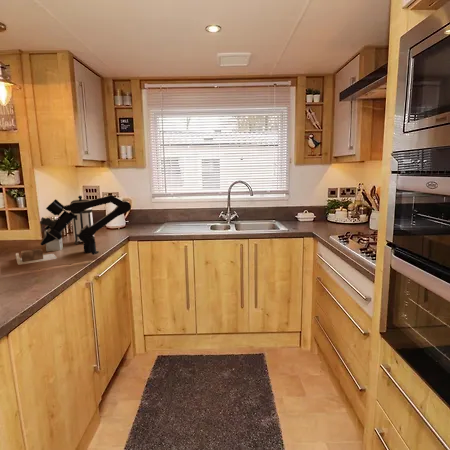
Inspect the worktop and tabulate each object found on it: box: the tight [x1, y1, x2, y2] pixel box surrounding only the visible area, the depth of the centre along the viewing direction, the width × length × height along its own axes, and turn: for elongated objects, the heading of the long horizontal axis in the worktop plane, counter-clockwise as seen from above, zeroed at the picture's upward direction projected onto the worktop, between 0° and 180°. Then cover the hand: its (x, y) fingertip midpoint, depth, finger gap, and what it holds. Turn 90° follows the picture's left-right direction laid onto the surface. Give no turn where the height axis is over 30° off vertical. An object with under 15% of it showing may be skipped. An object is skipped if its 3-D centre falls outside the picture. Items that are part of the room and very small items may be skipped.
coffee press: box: [69, 195, 95, 245], centre depth 203 cm, size 17×16×30 cm
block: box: [20, 248, 44, 262], centre depth 162 cm, size 4×4×9 cm
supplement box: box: [44, 229, 64, 252], centre depth 183 cm, size 7×7×13 cm
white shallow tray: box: [15, 252, 58, 265], centre depth 164 cm, size 17×13×4 cm
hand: (41, 244), depth 164 cm, fingers closed
